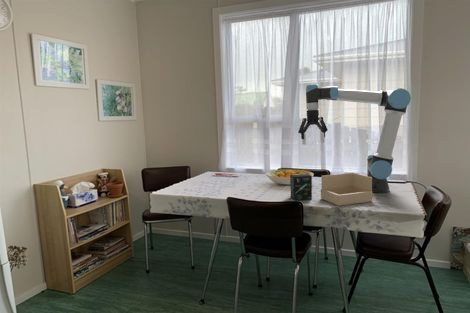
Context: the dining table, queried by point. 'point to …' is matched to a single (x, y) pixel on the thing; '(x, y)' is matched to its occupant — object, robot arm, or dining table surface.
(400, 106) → the robot arm
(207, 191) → the dining table surface
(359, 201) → the carton
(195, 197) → the dining table surface
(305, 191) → the tampon box
